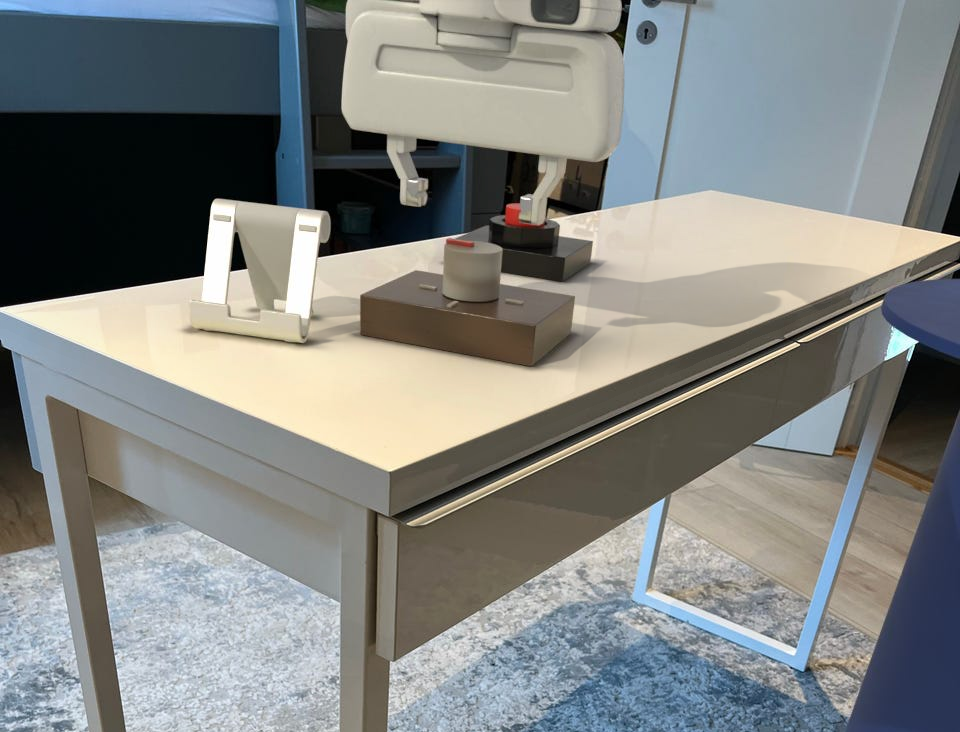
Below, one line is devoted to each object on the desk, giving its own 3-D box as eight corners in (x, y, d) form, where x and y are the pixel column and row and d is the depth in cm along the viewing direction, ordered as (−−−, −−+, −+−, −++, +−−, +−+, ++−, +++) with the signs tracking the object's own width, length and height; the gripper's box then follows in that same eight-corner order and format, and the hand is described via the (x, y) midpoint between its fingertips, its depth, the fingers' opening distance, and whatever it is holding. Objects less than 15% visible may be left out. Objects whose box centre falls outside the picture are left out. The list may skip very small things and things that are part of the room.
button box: (590, 263, 100) (595, 222, 98) (562, 281, 93) (567, 237, 90) (484, 246, 104) (487, 207, 101) (448, 263, 96) (450, 220, 94)
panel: (571, 334, 78) (575, 293, 76) (531, 366, 70) (535, 322, 68) (414, 306, 81) (415, 267, 80) (359, 334, 73) (359, 292, 72)
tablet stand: (190, 331, 71) (179, 210, 66) (236, 306, 78) (228, 194, 73) (299, 346, 70) (295, 224, 65) (337, 320, 76) (335, 206, 72)
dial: (507, 293, 75) (511, 241, 73) (487, 305, 71) (490, 251, 69) (455, 284, 76) (457, 233, 74) (433, 296, 73) (435, 243, 71)
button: (549, 225, 97) (551, 206, 96) (537, 231, 94) (538, 212, 93) (512, 220, 98) (514, 201, 97) (499, 226, 95) (500, 207, 94)
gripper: (324, -27, 63) (326, 199, 71) (622, -1, 58) (589, 241, 66) (367, -21, 68) (365, 189, 76) (645, 3, 63) (613, 227, 71)
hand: (471, 214), depth 71 cm, fingers open, 8 cm apart
